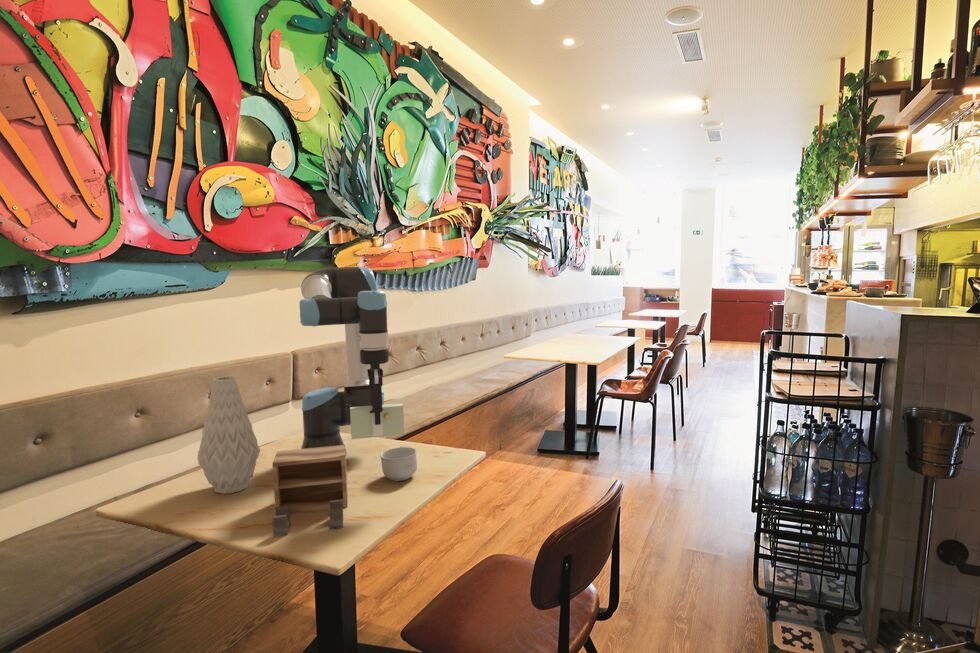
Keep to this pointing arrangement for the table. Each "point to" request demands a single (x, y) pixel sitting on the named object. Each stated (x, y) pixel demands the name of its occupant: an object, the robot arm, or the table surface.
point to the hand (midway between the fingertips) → (377, 433)
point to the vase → (227, 439)
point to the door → (363, 421)
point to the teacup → (399, 463)
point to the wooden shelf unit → (309, 484)
